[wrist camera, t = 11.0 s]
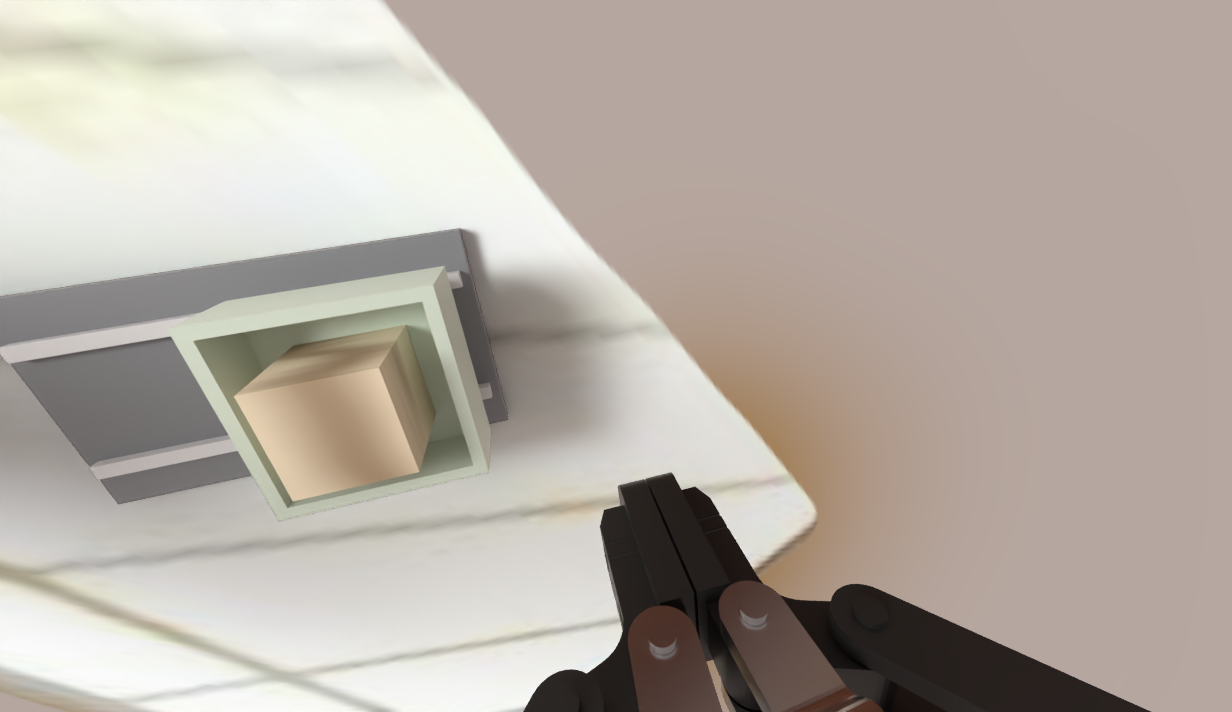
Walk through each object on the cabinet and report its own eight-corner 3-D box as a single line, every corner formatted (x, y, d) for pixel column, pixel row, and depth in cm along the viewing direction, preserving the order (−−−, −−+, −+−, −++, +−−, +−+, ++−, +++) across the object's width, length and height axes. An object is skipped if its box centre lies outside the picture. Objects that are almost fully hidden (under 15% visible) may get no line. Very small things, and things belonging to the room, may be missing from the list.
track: (129, 494, 26) (109, 511, 25) (-18, 299, 21) (-51, 307, 20) (507, 413, 29) (507, 424, 28) (460, 228, 24) (457, 231, 23)
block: (335, 434, 23) (292, 501, 18) (293, 345, 21) (233, 396, 16) (436, 412, 23) (419, 471, 19) (405, 324, 21) (378, 367, 17)
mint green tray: (324, 449, 26) (278, 521, 21) (248, 289, 22) (166, 329, 16) (492, 413, 27) (488, 472, 22) (449, 258, 23) (433, 284, 18)
